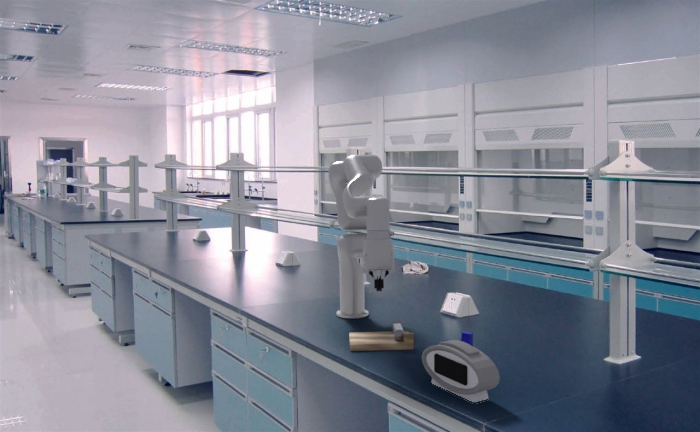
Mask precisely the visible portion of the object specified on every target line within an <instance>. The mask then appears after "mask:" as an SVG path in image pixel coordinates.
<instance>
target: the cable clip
mask: <svg viewBox="0 0 700 432" xmlns="http://www.w3.org/2000/svg"><path fill="white" fill-rule="evenodd" d="M473 335H474V332H473V333H472V332H468V331H462V332H461V338H460V341H462V342H465V343H467V344H469V345H471V346H473V347H474V342H473V341H474V336H473ZM449 340H450V339H445V340H443V342H444V341H449Z"/></svg>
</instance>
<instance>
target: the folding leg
mask: <svg viewBox="0 0 700 432" xmlns="http://www.w3.org/2000/svg"><path fill="white" fill-rule="evenodd" d="M405 331H406V330H404V328H403V326H402V323H401V321H399V320H398V321H392V332H394V335H395V340H396V341H404V333H405Z"/></svg>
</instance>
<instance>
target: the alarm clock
mask: <svg viewBox="0 0 700 432" xmlns="http://www.w3.org/2000/svg"><path fill="white" fill-rule="evenodd" d="M448 340H449V341H444V340H443V341H440V342H439V344H434V345H429V346H428V347H426V348H425V349H424V350H423V352H422V355H421V361H422V362H421V363H422V365H423V367H424V369H425V371H426V372H427V374H428V376H430V377H431V383H432V385H433V384H434V385H433V386H435V385H436V387H437V386H438V388H439V387H441V388H440V389H442V388H443V389H442V390H444V389H445V390H444V391H446V390H448V391H450V392H452V393H454V394H456V395H458V396H461V397H463V398H465V399H467V400H469V401H472V402H478V401H482V400H486V399H488V400H489V394H488V393H489V392H488V391H489V390H493V389H494V388H496V387H498V385H499V383H500V379H501V376H500V371H499V370H498V368H497V365H496V364H495V363H494V361H492V359H491V358H490V357H489V355H487V354H485V352H483V351H481V350H480V349H478V348H476V347H475V346H474V345H473V346H471V345H469V344H467V343H465V342H462V341H461V340H457V339H448ZM448 391H447V392H448ZM450 392H449V393H450ZM452 393H451V394H452ZM454 394H453V395H454ZM456 395H455V396H456ZM458 396H457V397H458ZM465 399H464V400H465ZM467 400H466V401H467ZM469 401H468V402H469Z"/></svg>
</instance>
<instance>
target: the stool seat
mask: <svg viewBox="0 0 700 432" xmlns="http://www.w3.org/2000/svg"><path fill="white" fill-rule="evenodd" d="M348 333H349V334H348V340H349V351H350V352H359V351H361V352H363V351H399V350H414V348H415V347H414V346H415V344H414V339H415V338H414V337H415V335H414V332H409V330H405V333H404V341H396V340H395V335H394V332H393V331H364V332H363V331H358V332H356V331H355V332H348Z"/></svg>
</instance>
